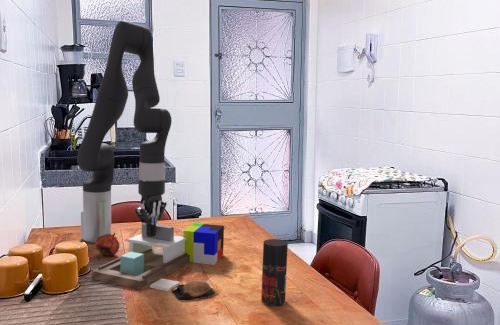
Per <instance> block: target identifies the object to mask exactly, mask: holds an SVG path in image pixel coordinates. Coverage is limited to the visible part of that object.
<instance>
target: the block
mask: <svg viewBox="0 0 500 325" xmlns="http://www.w3.org/2000/svg"><path fill="white" fill-rule="evenodd" d="M119 258H120V272H123V273H128V274H133V275H138V276H139V275H141V274H143V273H144V254H141V253H136V252H129V251H128V252H127V253H124V254H122V255H120V257H119Z"/></svg>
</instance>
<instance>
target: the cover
mask: <svg viewBox="0 0 500 325" xmlns="http://www.w3.org/2000/svg"><path fill="white" fill-rule="evenodd" d="M185 241H186V237H183V236H180V235H179V236H178V235H175V226H173V225H165V224H158V223H157V224H156V235H155V236H154V237H148V236H147V234H146V224H145V223H141V233H140V234H138V235H135V236H133V237H130V238H127V242H128V243H129V244H128V247H129V248H128V249H129V251H128V253H129V252H136V253H143V252H145V251H147V250H149V249H152V248H153V247H155V248H157V247H158V248H162V250H163V263H168V262H169V261H171V260H173V259H175V258H177V257H179V256H181V255H183V254H185Z"/></svg>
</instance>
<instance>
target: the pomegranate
mask: <svg viewBox="0 0 500 325" xmlns="http://www.w3.org/2000/svg"><path fill="white" fill-rule="evenodd" d="M115 235H116V233H115V232H114V233H113V234H112V233H111V234H105V235H102V236H100V237H98V238H97V240H96V242H95V248H96V250H98V252H99V253H100V255H99V256H98V258H97V260H100V259H101V257H102V256H108V257H109V256H110V257H114V256H115V255H117V253H118V252H119V250H120V242H119V240H118V238H117V237H116V236H115Z"/></svg>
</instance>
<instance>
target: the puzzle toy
mask: <svg viewBox="0 0 500 325" xmlns="http://www.w3.org/2000/svg"><path fill="white" fill-rule="evenodd" d="M182 234H183V235H182V237H186V241H185V253H187V255H190V262H189V263H197V264H205V265H212V266H213V265H215V264H216V263H217V262H218V261H219V260H220V259H221V258H222V257H223V255H224V243H225V242H224V240H225V239H224V236H225V225H219V224H210V223H201V222H200V223H199V222H198V223H197V222H193V223H192V224H191V225H190V226H187V228H185V229H184V230H183V232H182Z"/></svg>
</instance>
